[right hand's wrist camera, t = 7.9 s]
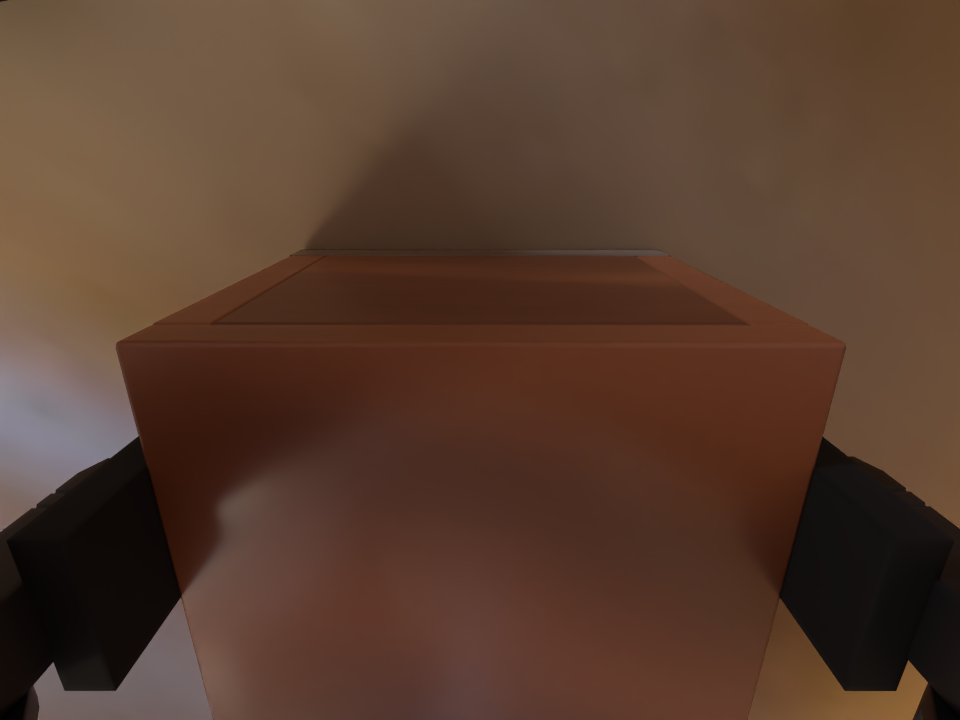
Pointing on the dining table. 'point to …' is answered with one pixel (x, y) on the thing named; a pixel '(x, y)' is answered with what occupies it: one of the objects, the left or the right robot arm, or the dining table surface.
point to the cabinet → (480, 483)
